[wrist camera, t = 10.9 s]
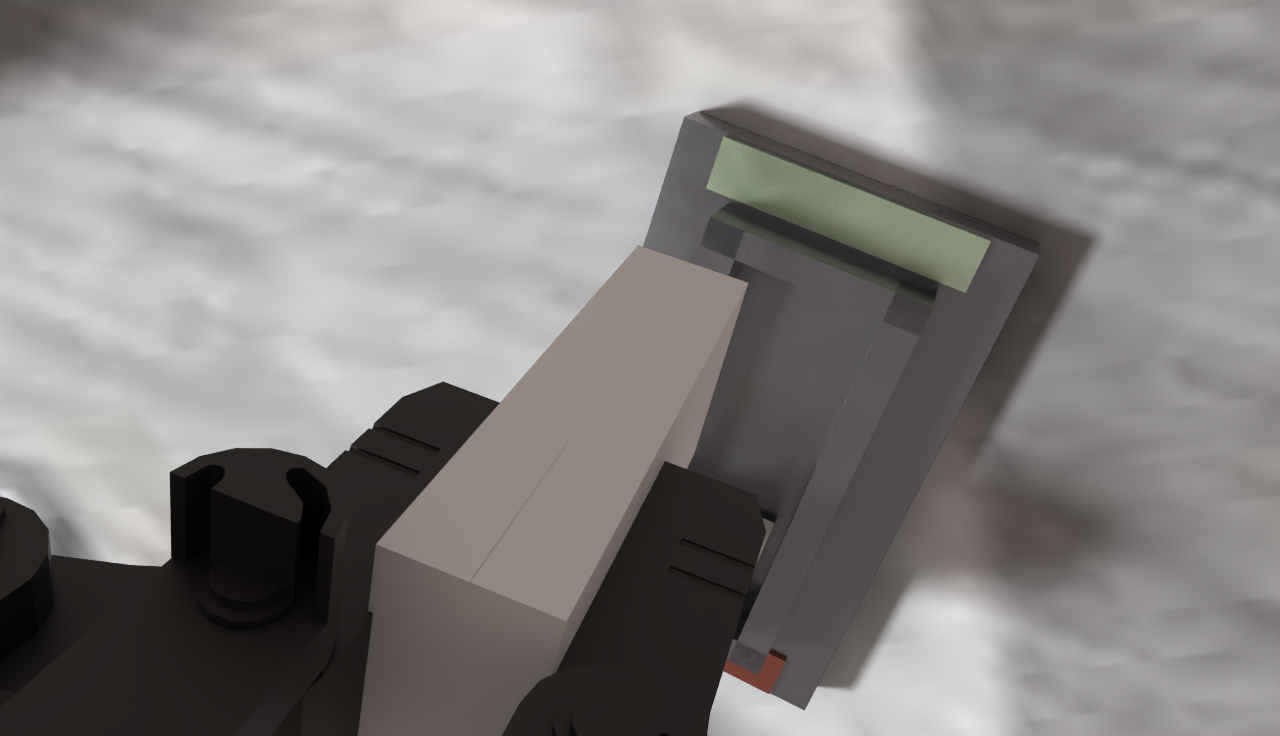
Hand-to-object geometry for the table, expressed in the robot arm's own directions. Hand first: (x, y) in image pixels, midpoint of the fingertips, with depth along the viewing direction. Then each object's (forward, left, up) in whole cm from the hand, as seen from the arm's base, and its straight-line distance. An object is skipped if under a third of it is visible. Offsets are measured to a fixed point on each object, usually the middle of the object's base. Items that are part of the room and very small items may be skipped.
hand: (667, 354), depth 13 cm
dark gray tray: (+9, -7, -22) cm, 24 cm away
